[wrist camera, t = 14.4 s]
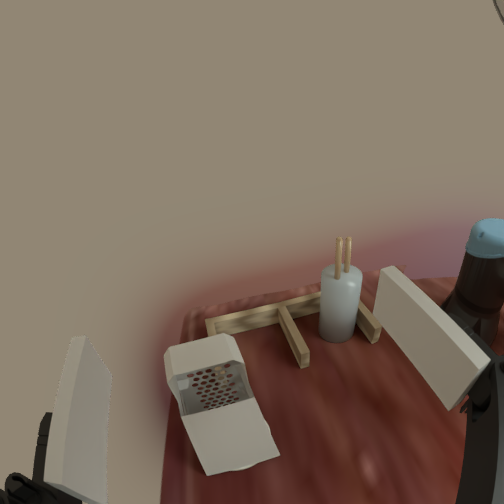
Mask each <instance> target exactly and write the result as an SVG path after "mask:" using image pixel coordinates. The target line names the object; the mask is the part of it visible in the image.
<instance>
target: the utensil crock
mask: <svg viewBox="0 0 504 504" xmlns="http://www.w3.org/2000/svg"><path fill="white" fill-rule="evenodd" d="M342 243H343V239H342V238H341V237H337V238H336V255H335V264H332V265H330V266H327V267H326V268H324V269H323V271H322V274H321V275H322V276H321V297H320V315H319V334H320V336H321V337H322V338H323V339H324V340H326V341H328V342H332V343H342V342H345V341H347V340H349V339H350V338H351V337H352V336H353V333H354V328H355V323H356V317H357V311H358V305H359V298H360V291H361V284H362V273H361V271H360V270H359V269H358V268H356V267H355V266H352V265H350V258H351V244H352V238H351V237H347V238H346V244H345V260H344V264H343V263H341V259H342Z"/></svg>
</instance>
